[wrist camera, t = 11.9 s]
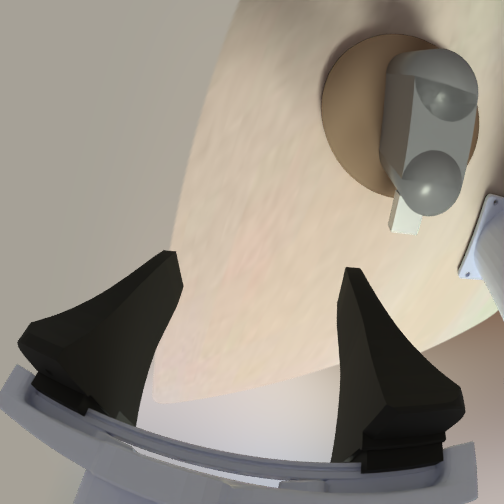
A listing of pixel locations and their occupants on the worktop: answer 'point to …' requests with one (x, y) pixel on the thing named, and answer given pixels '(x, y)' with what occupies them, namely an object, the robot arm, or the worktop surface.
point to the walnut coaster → (365, 107)
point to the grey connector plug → (426, 133)
